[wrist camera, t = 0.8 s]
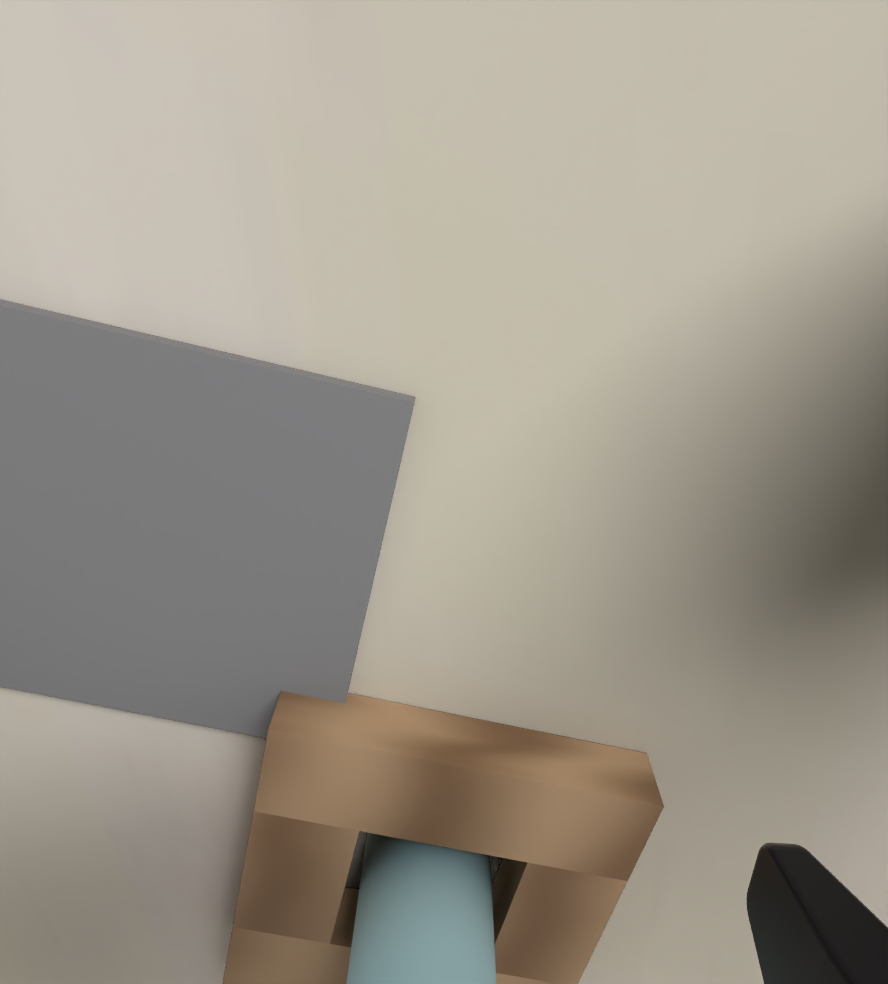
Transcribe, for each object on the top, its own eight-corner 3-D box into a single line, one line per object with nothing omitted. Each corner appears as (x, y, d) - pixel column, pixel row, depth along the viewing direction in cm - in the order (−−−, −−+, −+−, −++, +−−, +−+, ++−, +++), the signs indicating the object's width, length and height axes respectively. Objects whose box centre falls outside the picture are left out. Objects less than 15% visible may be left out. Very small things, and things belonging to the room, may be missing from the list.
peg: (504, 814, 25) (526, 1124, 17) (472, 899, 27) (479, 1219, 19) (379, 790, 25) (340, 1095, 17) (355, 878, 27) (309, 1194, 18)
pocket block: (646, 753, 24) (663, 806, 22) (542, 982, 29) (548, 1043, 27) (284, 680, 23) (268, 728, 21) (238, 929, 28) (221, 988, 26)
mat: (415, 396, 19) (414, 402, 19) (336, 740, 24) (334, 751, 24) (-51, 287, 18) (-64, 290, 18) (-38, 667, 23) (-48, 677, 23)
